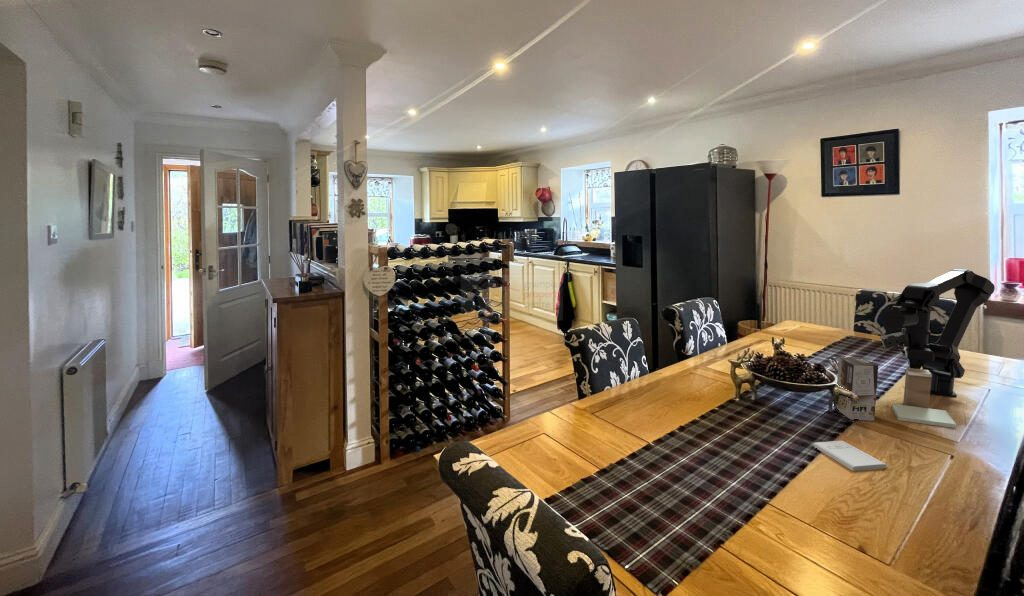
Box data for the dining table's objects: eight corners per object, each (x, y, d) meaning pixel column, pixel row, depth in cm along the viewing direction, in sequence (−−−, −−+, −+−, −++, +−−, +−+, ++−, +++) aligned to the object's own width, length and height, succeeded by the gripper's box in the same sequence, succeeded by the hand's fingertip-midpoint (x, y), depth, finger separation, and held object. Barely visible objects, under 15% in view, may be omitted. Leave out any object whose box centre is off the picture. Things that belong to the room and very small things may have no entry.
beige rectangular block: (903, 402, 143) (906, 367, 142) (924, 405, 141) (927, 369, 139) (906, 407, 139) (909, 372, 138) (928, 410, 136) (931, 374, 135)
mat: (891, 406, 140) (892, 403, 140) (945, 413, 134) (945, 410, 134) (898, 419, 131) (898, 416, 131) (955, 428, 125) (956, 424, 124)
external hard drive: (852, 473, 105) (812, 448, 117) (886, 470, 106) (843, 445, 118) (853, 466, 105) (812, 442, 117) (886, 463, 106) (843, 439, 118)
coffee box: (875, 421, 131) (879, 365, 128) (849, 420, 132) (853, 364, 130) (858, 409, 140) (862, 356, 137) (834, 408, 141) (837, 356, 139)
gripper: (879, 319, 155) (876, 364, 157) (888, 329, 139) (884, 380, 142) (923, 321, 149) (919, 368, 151) (937, 332, 134) (932, 385, 136)
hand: (912, 375), depth 145 cm, fingers closed
